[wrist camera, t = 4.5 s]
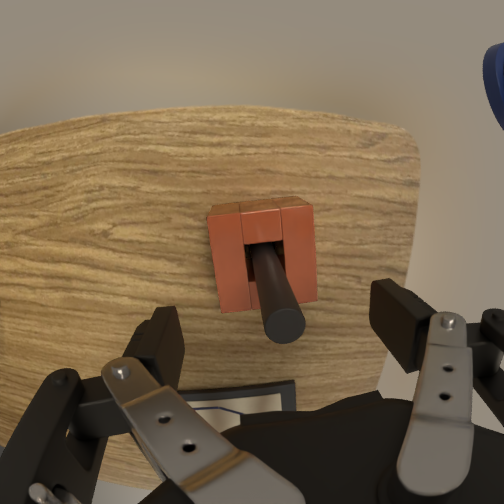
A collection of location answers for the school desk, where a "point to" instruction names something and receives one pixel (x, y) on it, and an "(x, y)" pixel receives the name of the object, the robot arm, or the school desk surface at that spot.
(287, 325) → the cylinder
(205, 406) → the sketch board
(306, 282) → the pen stand
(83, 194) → the school desk surface
